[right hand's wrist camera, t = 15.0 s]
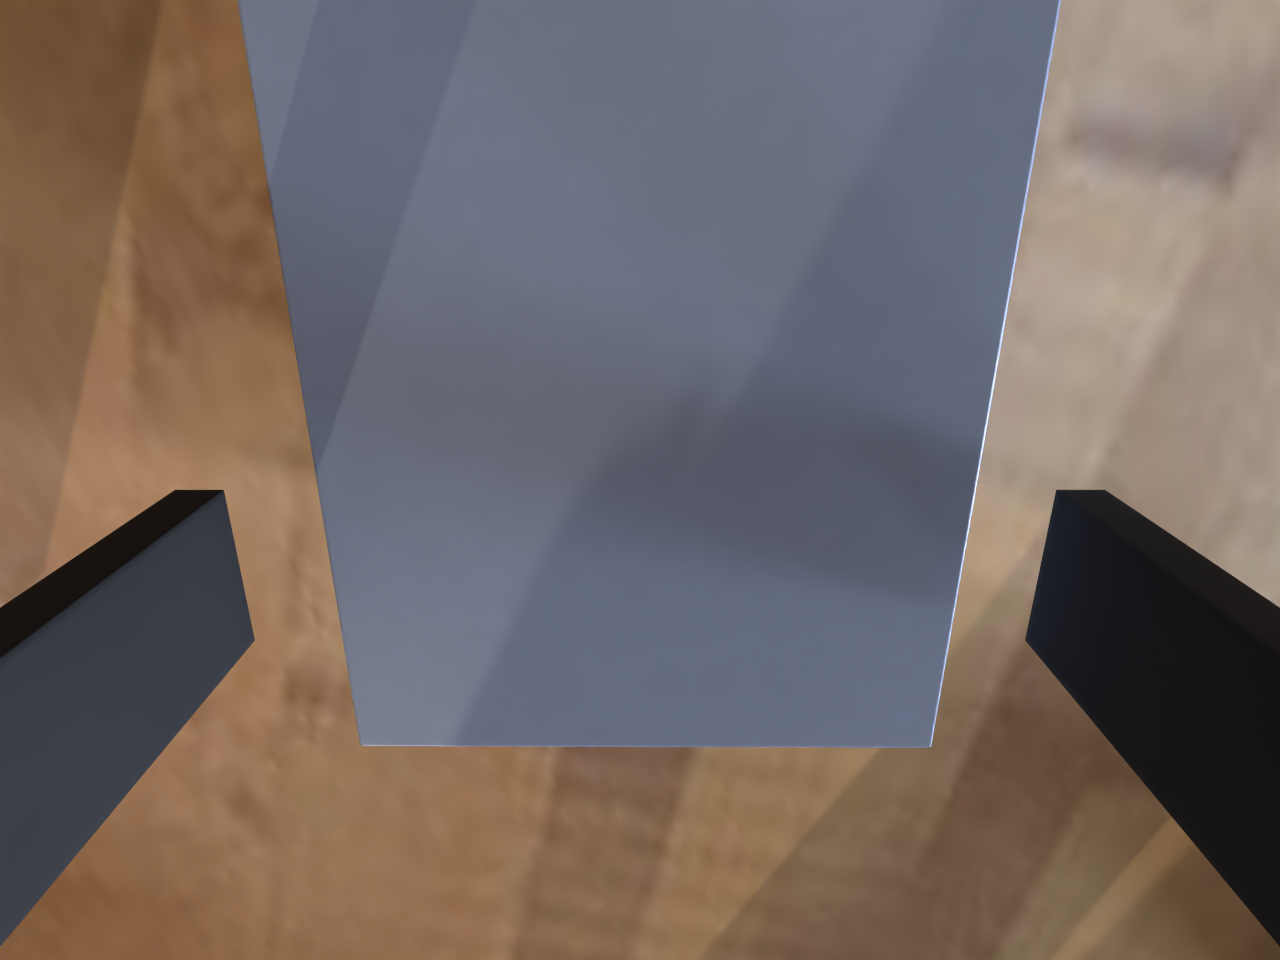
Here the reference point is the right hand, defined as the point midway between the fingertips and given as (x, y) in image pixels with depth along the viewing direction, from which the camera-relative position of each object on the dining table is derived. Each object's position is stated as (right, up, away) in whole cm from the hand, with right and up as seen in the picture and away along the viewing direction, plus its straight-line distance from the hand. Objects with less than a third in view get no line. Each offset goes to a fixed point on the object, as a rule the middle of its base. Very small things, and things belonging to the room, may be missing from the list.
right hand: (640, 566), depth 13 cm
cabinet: (0, +9, +9) cm, 13 cm away
